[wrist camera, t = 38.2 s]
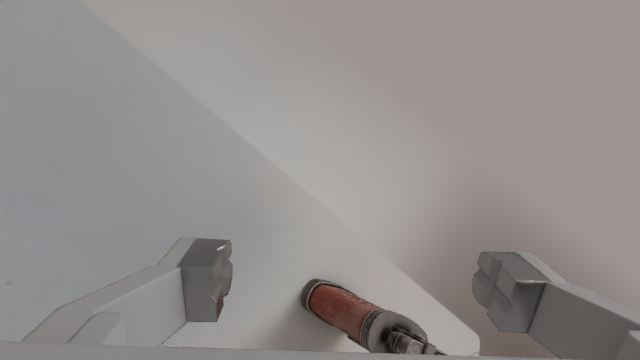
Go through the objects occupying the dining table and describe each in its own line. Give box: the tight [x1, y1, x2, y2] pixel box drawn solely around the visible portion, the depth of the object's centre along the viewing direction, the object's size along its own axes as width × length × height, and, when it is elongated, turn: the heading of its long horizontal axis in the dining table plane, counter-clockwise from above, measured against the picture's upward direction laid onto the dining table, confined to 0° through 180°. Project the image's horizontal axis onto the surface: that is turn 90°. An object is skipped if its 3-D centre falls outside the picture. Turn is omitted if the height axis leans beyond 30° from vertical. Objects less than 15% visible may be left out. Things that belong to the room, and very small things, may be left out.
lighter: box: [301, 279, 447, 355], centre depth 24 cm, size 8×3×10 cm, turn 57°
